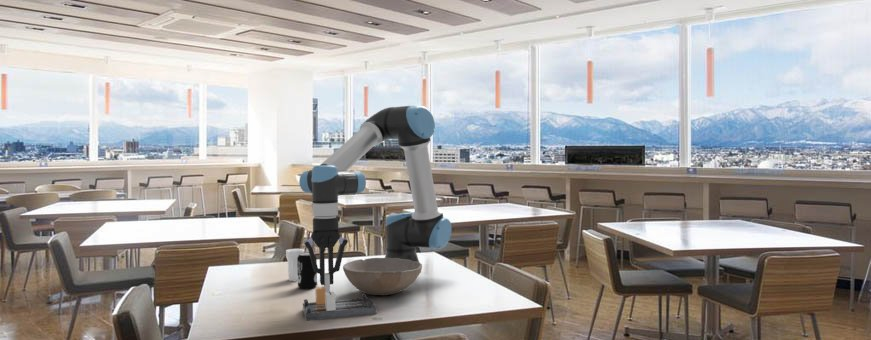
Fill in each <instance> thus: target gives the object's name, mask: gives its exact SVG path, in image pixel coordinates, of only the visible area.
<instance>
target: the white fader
mask: <svg viewBox="0 0 871 340" xmlns="http://www.w3.org/2000/svg"><path fill="white" fill-rule="evenodd" d="M335 301H336V294H335V291H330V292H325V308H326V310H327V311H333V310H336V303H335Z"/></svg>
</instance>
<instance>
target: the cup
mask: <svg viewBox="0 0 871 340" xmlns="http://www.w3.org/2000/svg"><path fill="white" fill-rule="evenodd" d="M303 252H305V249H304V248H290V249H285V256H286V259H287V270H288V272H287V273H288V280H289V282H298V268H297V258H298V256H299V255H298V254H299V253H303Z"/></svg>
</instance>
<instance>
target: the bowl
mask: <svg viewBox="0 0 871 340" xmlns="http://www.w3.org/2000/svg"><path fill="white" fill-rule="evenodd" d="M422 268H423V264H422V263H421V262H420V261H419V262H417V261H412V260H406V259H399V258H385V257H371V258H370V257H369V258H365V259H355V260H352V261H349V262H348V261H347V262H346V263H345V264H343V266H342V269H343V272H344V275H345V277H346V278H347V280H348V281H349V282H350V284H351V285H352V286H353V287H355V288H356V289H357V290H358V291H360V292H362V293H365V294H367V295H373V296H390V295H394V294H397V293H400V292H402V291H404V290H405V289H407V288H409V287H410V286H411V285H413V283H414V282H415V281H416V280H417V279H418V277H419V276H420V274H421V272H422Z"/></svg>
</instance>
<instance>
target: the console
mask: <svg viewBox="0 0 871 340" xmlns="http://www.w3.org/2000/svg"><path fill="white" fill-rule="evenodd" d="M335 303H336V310H333V311H327V310H326V308H325V304H320V305H317V304H316V301H313V302H309V300H308V299H303V303H302V311H303V315H304V318H305V321H317V320H329V319H339V318H348V317H349V318H350V317H359V316H370V315H371V316H372V315H377V314H378V313H377V306H376V305H375V303H374V302H373V301H372V300H371V298H370V297H367V295H366V294H361V298H360V297H359V298H350V299H349V298H348V299H335Z"/></svg>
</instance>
